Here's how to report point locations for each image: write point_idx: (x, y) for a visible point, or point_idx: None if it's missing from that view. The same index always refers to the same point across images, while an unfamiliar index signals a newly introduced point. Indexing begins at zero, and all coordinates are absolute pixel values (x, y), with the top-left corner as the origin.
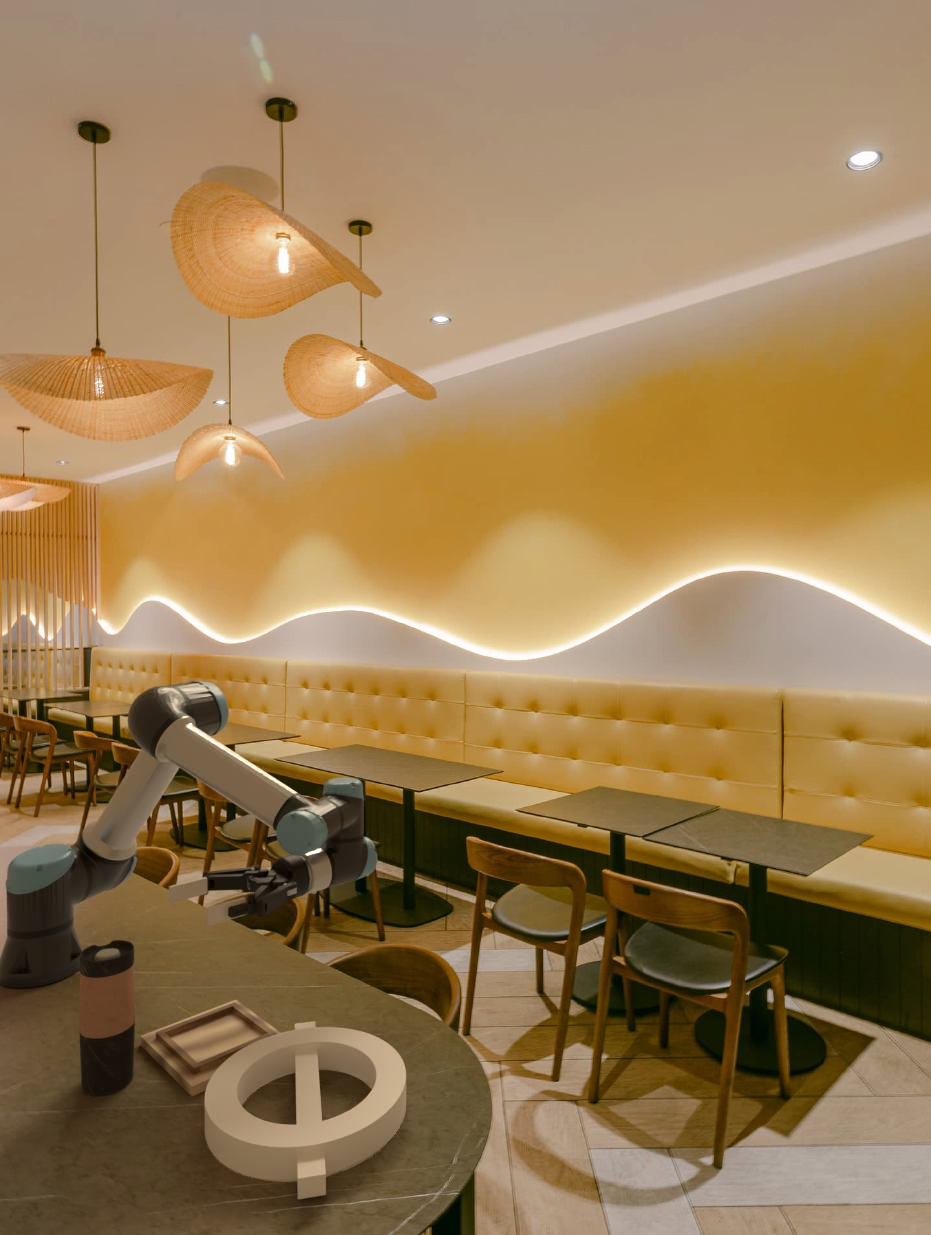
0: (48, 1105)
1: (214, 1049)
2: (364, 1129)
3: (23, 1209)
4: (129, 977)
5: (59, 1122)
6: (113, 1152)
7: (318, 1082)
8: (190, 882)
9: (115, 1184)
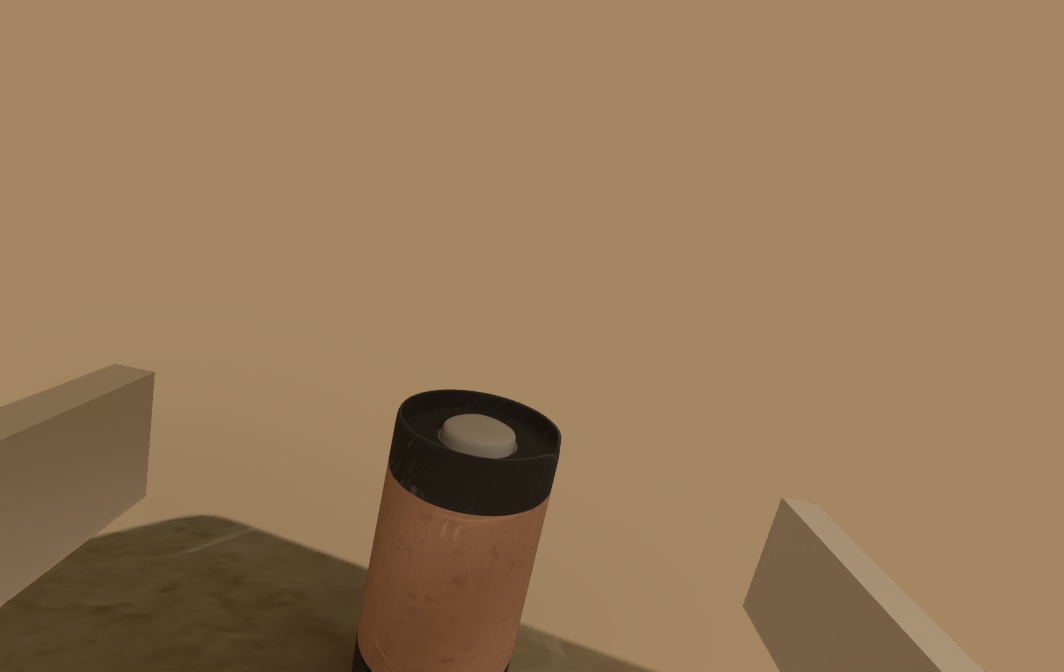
0: None
1: None
2: None
3: (215, 526)
4: (388, 506)
5: None
6: (154, 641)
7: None
8: (894, 620)
9: (76, 601)
